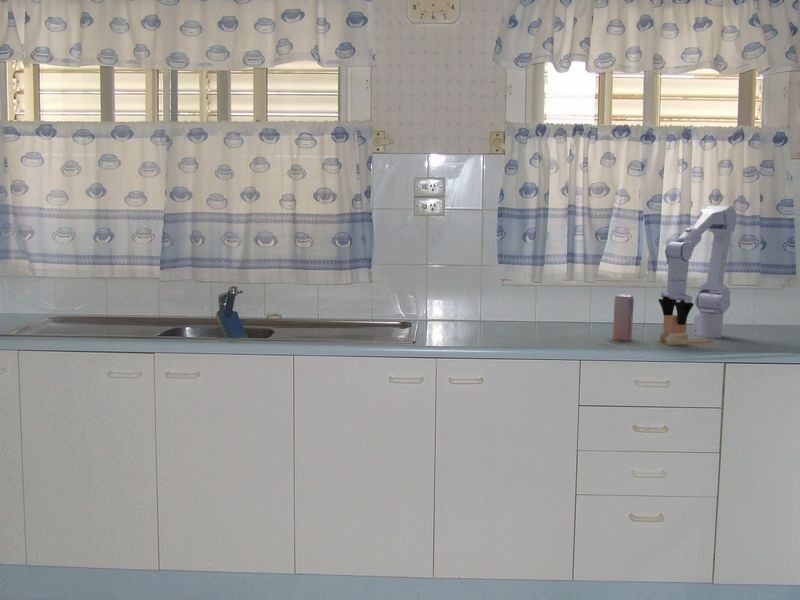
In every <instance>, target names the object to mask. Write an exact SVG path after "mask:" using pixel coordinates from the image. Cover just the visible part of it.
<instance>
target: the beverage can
mask: <svg viewBox="0 0 800 600" xmlns="http://www.w3.org/2000/svg"><path fill="white" fill-rule="evenodd" d="M634 299H635V298H634V295H632V294H615V296H614V300H613V301H614V303H613V304H614V305H613V307H614V308H613V323H612V324H613V326H612V327H613V329H612V339H613V340H614V341H622V342H623V341H625V342H627V341H628V342H629V341H630V342H631V341H632V340H633V320H634V318H633V317H634V303H635V300H634Z"/></svg>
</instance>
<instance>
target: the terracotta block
mask: <svg viewBox="0 0 800 600" xmlns="http://www.w3.org/2000/svg"><path fill="white" fill-rule="evenodd" d="M687 323H688V318H687V319H686V323H685V325H678V322H677V314H673V315H663V325H662V326H663V328H662V329H663V331H666V332H669V333H687Z"/></svg>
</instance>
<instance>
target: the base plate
mask: <svg viewBox="0 0 800 600" xmlns="http://www.w3.org/2000/svg"><path fill="white" fill-rule="evenodd" d="M654 342H657V343H660V344H664V345H666V346H669V347H676V346H677V347H679V346H680V347H682V346H686V347H687V346H708V345H709V346H711V345H712V346H713V345H714V346H715V345H720V343H719V342H715V341H713V340H712V341H711V340H709V339H705V338H695V339H694V338H692V339H689V338H688V341H687V344H674V345H670V344H667V343H664V342H660V339H657V340H656V339H655V340H654Z"/></svg>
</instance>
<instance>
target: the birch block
mask: <svg viewBox="0 0 800 600" xmlns="http://www.w3.org/2000/svg"><path fill="white" fill-rule="evenodd" d="M688 337H689V333H688V332H686V333H669V332H666V331H663V330H660V333H659V340H660V342H664V343H667V344H670V345H674V344H687V341H688V339H689V338H688ZM660 342H659V343H660Z"/></svg>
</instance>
